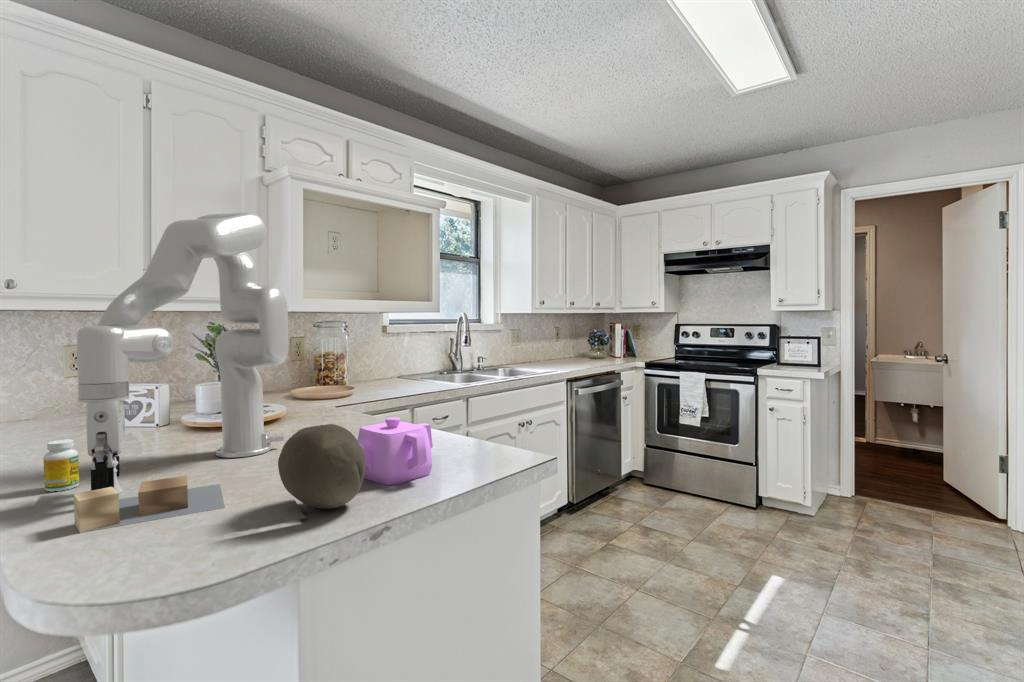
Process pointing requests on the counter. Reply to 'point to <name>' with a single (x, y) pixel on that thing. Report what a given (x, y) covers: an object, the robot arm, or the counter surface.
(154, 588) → the counter surface
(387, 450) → the teakettle
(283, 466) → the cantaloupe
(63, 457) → the supplement bottle
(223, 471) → the counter surface
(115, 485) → the rook chess piece
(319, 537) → the counter surface
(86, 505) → the oak block
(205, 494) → the slate mat
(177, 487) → the wooden block
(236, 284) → the robot arm
